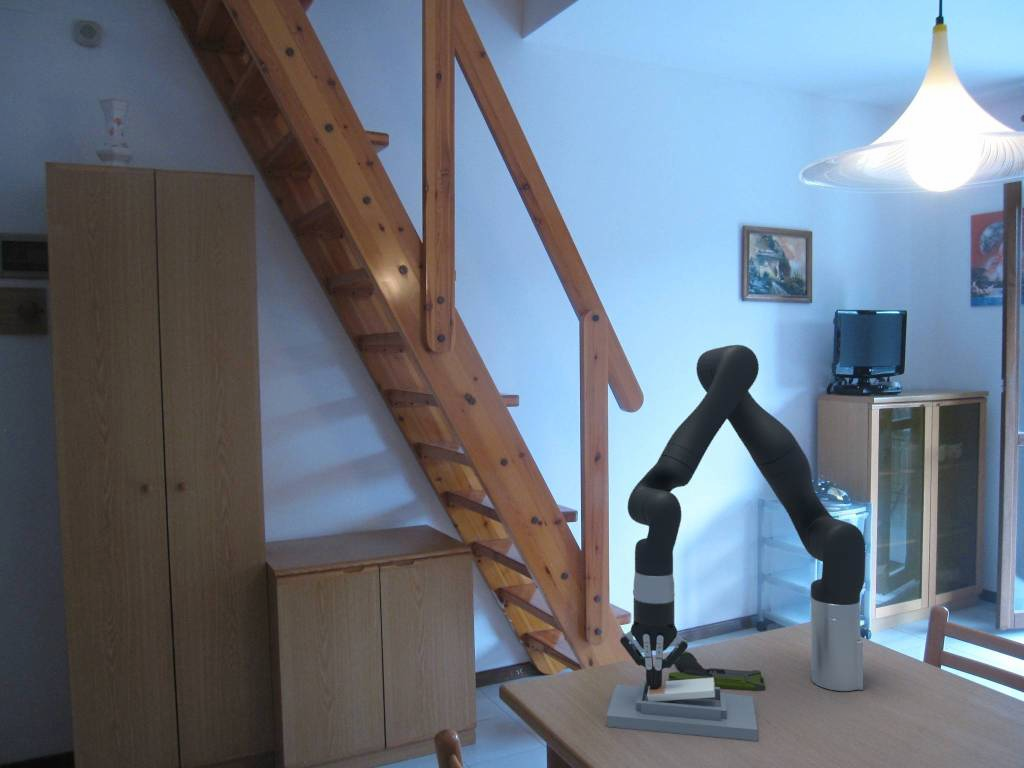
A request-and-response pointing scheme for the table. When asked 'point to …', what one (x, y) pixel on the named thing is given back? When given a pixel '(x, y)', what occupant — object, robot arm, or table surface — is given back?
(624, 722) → the panel
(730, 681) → the gun
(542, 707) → the table surface
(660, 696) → the rocker
